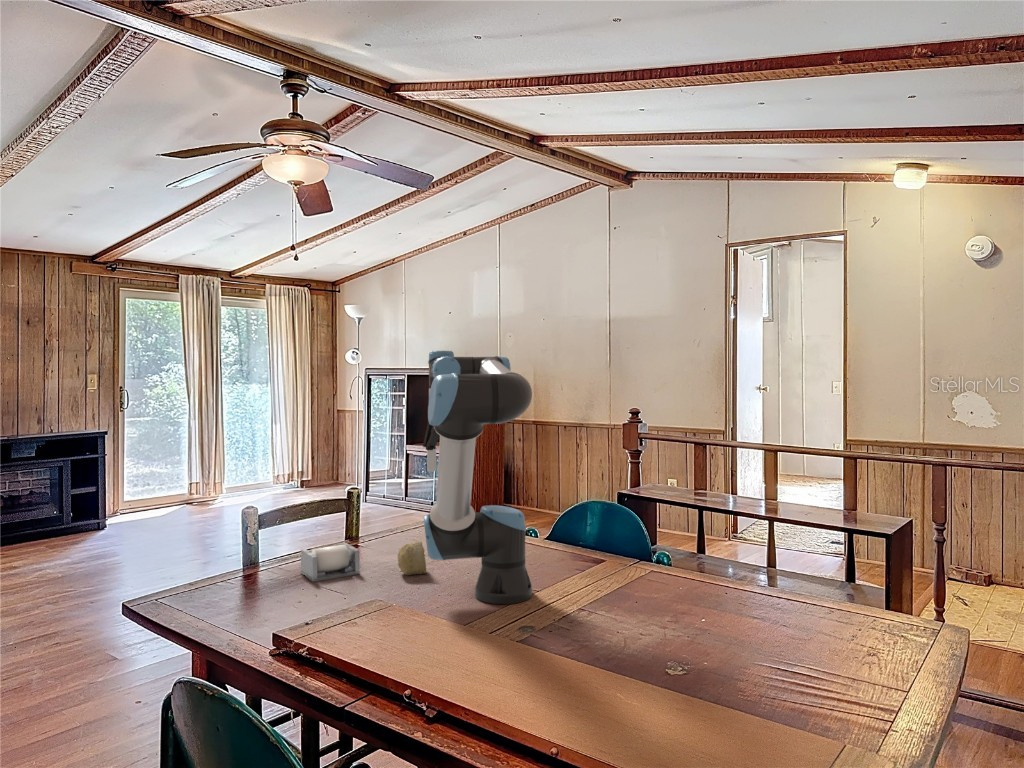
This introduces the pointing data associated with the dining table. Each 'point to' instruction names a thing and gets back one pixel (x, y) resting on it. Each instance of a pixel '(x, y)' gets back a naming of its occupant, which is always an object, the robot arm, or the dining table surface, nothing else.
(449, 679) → the dining table surface
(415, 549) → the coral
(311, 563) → the cradle
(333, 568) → the roll
